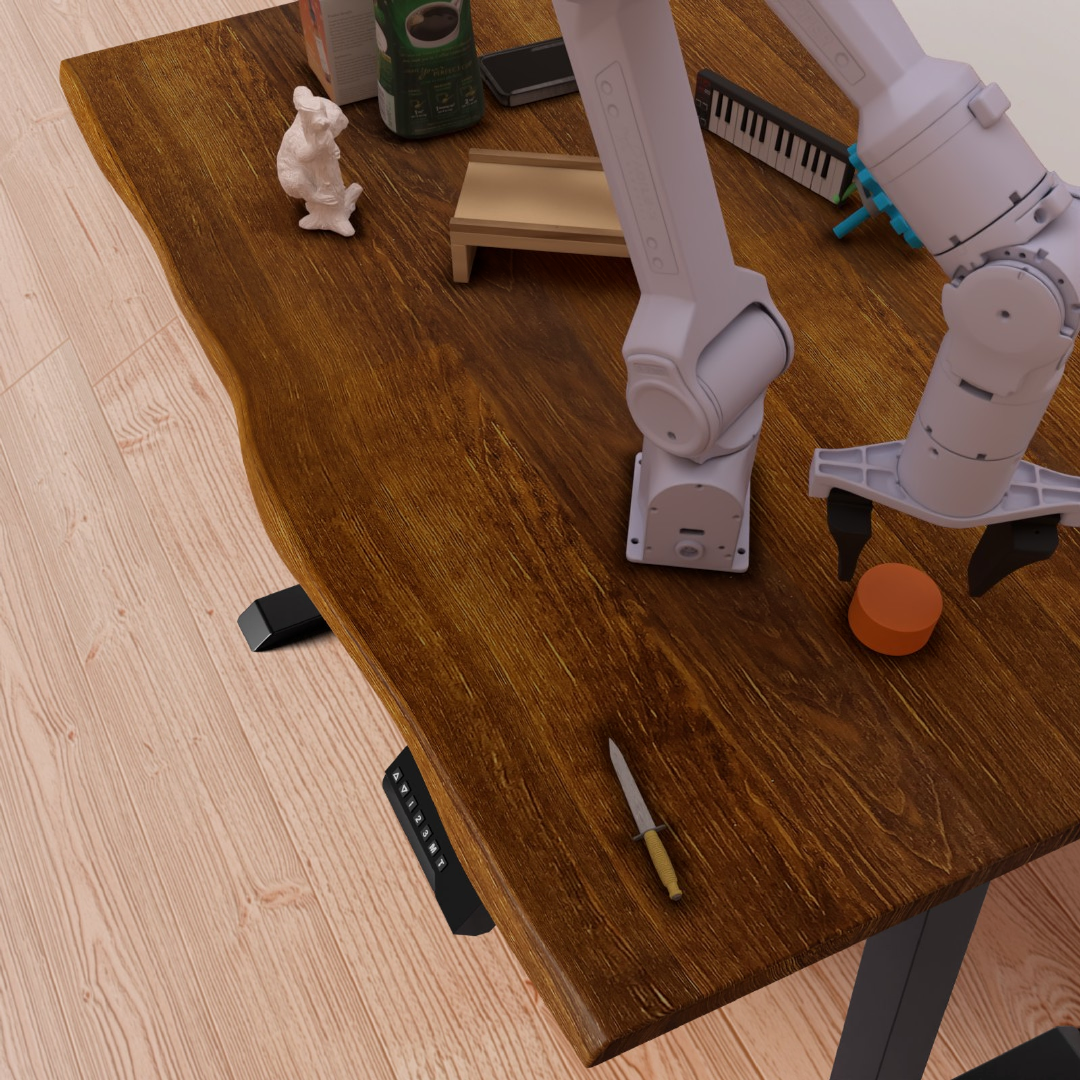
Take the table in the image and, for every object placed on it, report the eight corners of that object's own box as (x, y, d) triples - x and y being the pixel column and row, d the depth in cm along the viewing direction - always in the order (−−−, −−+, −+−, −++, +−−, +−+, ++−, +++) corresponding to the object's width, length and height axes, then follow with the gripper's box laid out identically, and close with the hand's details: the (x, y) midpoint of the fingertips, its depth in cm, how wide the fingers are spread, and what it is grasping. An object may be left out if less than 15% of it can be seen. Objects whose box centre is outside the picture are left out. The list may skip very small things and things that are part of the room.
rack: (676, 300, 92) (683, 241, 88) (453, 282, 94) (449, 223, 89) (682, 222, 99) (689, 163, 94) (473, 206, 100) (469, 147, 95)
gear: (945, 260, 93) (876, 176, 88) (881, 304, 96) (811, 225, 91) (914, 192, 101) (850, 111, 96) (856, 234, 104) (790, 158, 99)
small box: (308, 66, 114) (289, -42, 105) (362, 53, 115) (348, -55, 107) (334, 108, 109) (317, -1, 101) (390, 94, 110) (378, -15, 102)
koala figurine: (378, 239, 97) (360, 109, 88) (298, 255, 96) (272, 126, 86) (356, 181, 102) (337, 53, 93) (280, 196, 101) (253, 67, 91)
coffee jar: (468, 84, 112) (456, -121, 97) (494, 129, 107) (486, -80, 92) (370, 103, 110) (343, -103, 95) (392, 150, 105) (367, -60, 90)
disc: (934, 660, 72) (946, 635, 70) (849, 651, 72) (858, 627, 70) (927, 592, 75) (939, 566, 73) (846, 584, 76) (855, 558, 73)
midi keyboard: (690, 122, 108) (696, 72, 104) (700, 116, 108) (706, 66, 104) (838, 209, 100) (850, 158, 96) (847, 202, 100) (860, 152, 96)
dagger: (590, 738, 69) (621, 725, 69) (593, 745, 69) (624, 732, 69) (659, 903, 62) (693, 888, 62) (661, 908, 63) (695, 894, 63)
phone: (648, 63, 111) (503, 97, 108) (647, 74, 112) (503, 108, 109) (613, 24, 116) (472, 55, 112) (612, 34, 117) (473, 66, 113)
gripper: (1111, 379, 61) (1026, 538, 72) (830, 350, 62) (788, 510, 73) (1132, 480, 57) (1038, 633, 67) (830, 447, 58) (785, 602, 69)
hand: (908, 576), depth 70 cm, fingers open, 7 cm apart
